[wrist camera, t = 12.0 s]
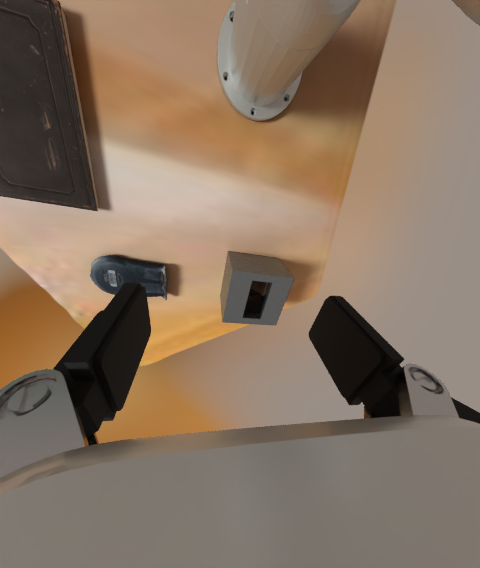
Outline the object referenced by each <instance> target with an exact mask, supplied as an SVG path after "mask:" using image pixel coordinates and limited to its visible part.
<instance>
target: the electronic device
mask: <svg viewBox="0 0 480 568" xmlns="http://www.w3.org/2000/svg"><path fill="white" fill-rule="evenodd" d="M165 267H166V265H158V264H152V263H146V262H139V261H133V260H126V259H123V258H120V257H117V256H110V255H109V256H101V257H99V258H97V259H95V260H94V261H93V263H92V266H91V274H90V277H91V279H92V281H93V282H94V284H95V285H97V286H98V287H99V288H100V289H102V290H103V291H105V292H107V293H110V294H114V295H116V294H117V293H118V291H119V290H120V289H121V287H122V286H123V285H124V284H125V283H126V282H129V283H140V284H141V286H142V287H145V288H146V294H147V297H157V296H162V297H163V298H165V300H167V293H166V287H167V281H168V279H167V278H166V273H165Z"/></svg>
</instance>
